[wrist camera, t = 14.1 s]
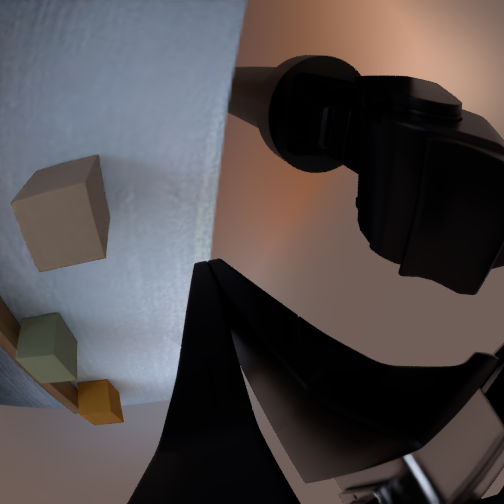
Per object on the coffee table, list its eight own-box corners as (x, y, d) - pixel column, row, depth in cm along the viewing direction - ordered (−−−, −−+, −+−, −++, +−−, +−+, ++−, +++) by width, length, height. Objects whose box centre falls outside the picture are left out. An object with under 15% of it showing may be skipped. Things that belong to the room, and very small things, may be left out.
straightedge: (-59, 148, 6) (-80, 162, 4) (83, 395, 24) (84, 413, 22) (-70, 156, 5) (-90, 171, 3) (73, 396, 24) (74, 413, 22)
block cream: (98, 154, 12) (85, 181, 9) (110, 217, 14) (106, 258, 12) (36, 170, 11) (10, 203, 8) (53, 230, 13) (38, 273, 10)
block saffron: (107, 379, 24) (111, 411, 21) (119, 392, 26) (124, 422, 23) (76, 382, 22) (79, 414, 20) (91, 396, 25) (94, 425, 22)
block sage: (58, 312, 17) (54, 354, 14) (77, 341, 19) (77, 380, 16) (22, 318, 15) (15, 358, 12) (43, 346, 18) (40, 383, 15)
